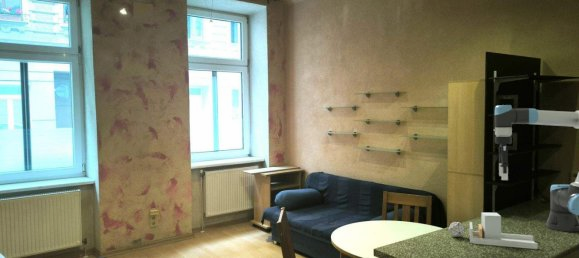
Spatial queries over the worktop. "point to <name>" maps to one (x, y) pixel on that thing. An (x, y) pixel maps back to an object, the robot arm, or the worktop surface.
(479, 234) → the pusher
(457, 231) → the game die
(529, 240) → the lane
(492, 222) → the supplement box
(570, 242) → the worktop surface
